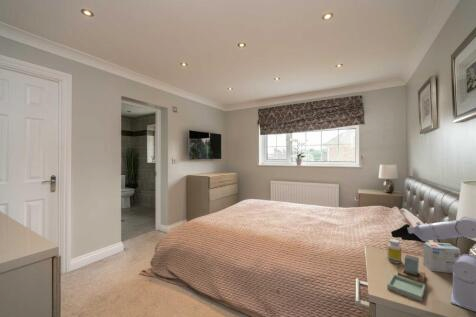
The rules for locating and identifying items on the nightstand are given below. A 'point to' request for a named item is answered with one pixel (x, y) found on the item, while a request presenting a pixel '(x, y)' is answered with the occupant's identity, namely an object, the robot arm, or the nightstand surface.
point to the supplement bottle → (394, 251)
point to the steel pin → (411, 265)
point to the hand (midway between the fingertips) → (396, 235)
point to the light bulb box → (440, 256)
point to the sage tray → (406, 287)
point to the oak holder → (420, 274)
